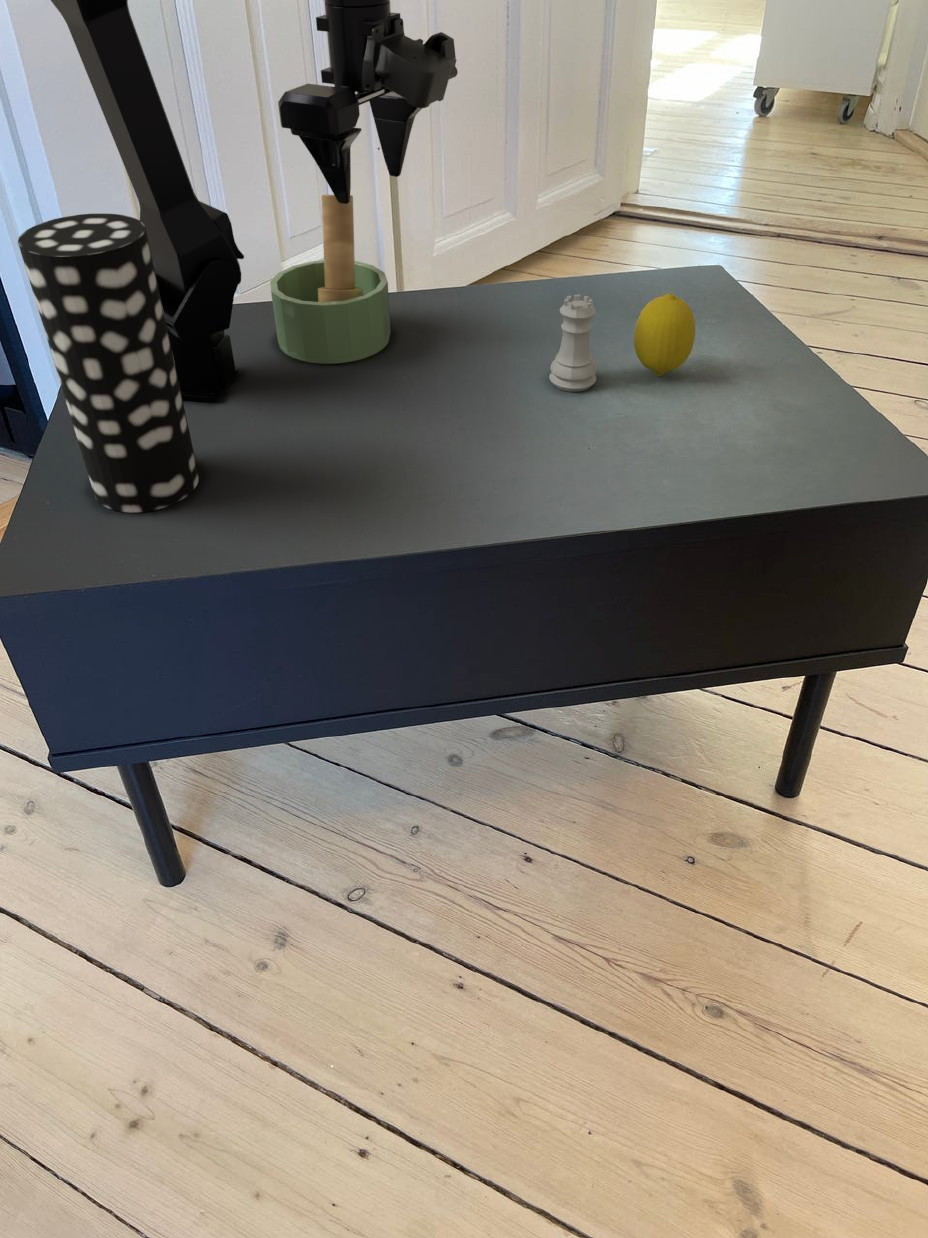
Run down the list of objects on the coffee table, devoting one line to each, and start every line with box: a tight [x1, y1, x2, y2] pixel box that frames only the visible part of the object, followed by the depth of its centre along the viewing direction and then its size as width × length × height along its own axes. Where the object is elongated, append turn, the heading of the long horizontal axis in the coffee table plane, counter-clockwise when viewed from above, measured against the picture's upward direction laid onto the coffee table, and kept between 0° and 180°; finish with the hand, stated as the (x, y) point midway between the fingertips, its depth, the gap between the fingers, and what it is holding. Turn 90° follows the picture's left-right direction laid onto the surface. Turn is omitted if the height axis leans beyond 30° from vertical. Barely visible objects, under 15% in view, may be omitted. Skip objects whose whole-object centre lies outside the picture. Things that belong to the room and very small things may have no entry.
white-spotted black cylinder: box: [17, 212, 200, 513], centre depth 72 cm, size 8×8×20 cm
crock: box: [269, 259, 392, 365], centre depth 97 cm, size 11×11×6 cm
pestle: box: [318, 194, 363, 302], centre depth 96 cm, size 4×4×12 cm
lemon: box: [633, 292, 696, 377], centre depth 90 cm, size 6×6×8 cm
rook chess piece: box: [548, 294, 597, 393], centre depth 89 cm, size 4×4×8 cm
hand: (370, 188), depth 95 cm, fingers open, 9 cm apart
